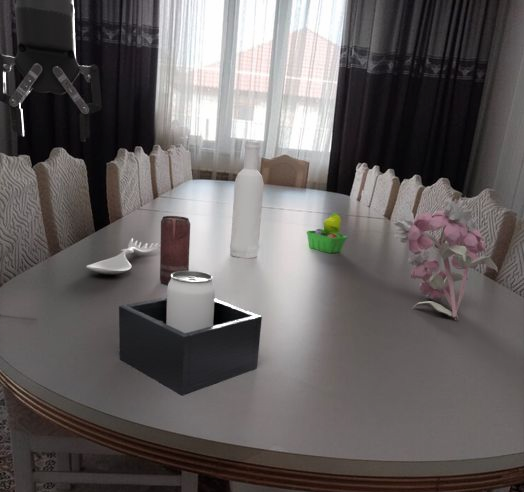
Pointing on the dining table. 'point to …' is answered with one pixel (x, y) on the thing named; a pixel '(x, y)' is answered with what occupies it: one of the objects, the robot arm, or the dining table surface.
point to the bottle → (247, 205)
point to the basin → (188, 345)
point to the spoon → (121, 259)
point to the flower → (443, 251)
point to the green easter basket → (327, 236)
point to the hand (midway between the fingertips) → (52, 138)
